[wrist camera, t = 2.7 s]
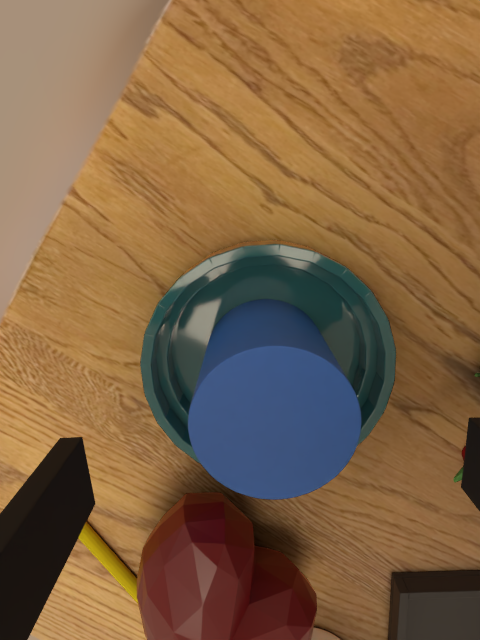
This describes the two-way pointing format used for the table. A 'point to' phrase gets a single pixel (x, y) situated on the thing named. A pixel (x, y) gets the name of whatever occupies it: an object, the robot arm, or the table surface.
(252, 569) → the heart
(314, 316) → the bowl
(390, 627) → the tray
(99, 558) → the pencil
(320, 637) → the candle holder
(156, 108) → the table surface
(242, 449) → the blue pillar candle
